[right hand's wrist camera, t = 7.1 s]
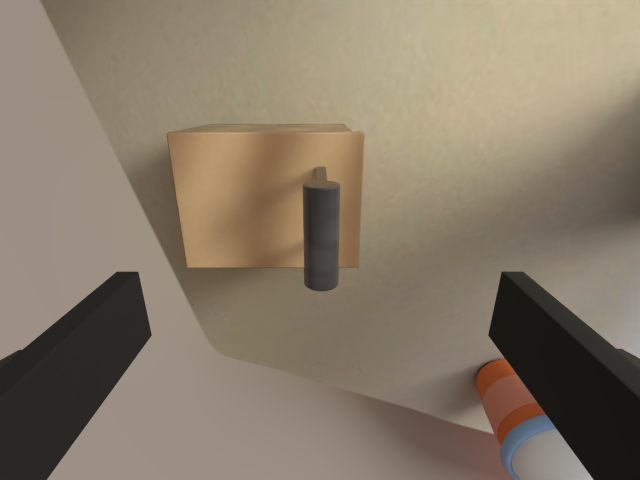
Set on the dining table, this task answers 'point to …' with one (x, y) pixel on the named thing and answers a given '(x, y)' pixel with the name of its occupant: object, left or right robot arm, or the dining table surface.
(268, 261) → the lid
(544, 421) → the cup with straw
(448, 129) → the dining table surface
